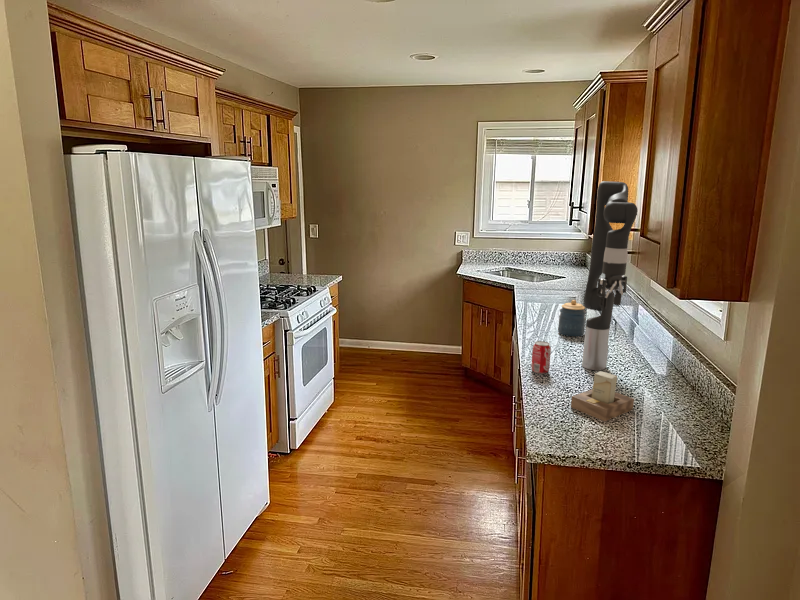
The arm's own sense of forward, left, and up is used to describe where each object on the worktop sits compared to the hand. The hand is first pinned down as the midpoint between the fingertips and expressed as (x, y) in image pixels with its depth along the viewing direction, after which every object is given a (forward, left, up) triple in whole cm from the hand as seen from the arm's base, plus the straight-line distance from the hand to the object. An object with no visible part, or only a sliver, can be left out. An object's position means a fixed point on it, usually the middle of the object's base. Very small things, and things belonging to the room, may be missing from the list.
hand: (610, 306), depth 188 cm
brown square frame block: (+13, +9, -32) cm, 36 cm away
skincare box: (+13, +9, -32) cm, 36 cm away
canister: (-57, -55, -32) cm, 86 cm away
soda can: (+2, -27, -32) cm, 42 cm away
